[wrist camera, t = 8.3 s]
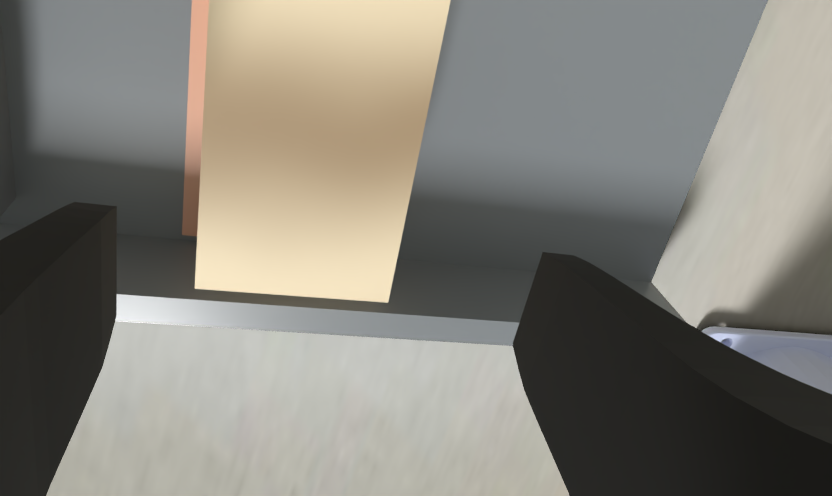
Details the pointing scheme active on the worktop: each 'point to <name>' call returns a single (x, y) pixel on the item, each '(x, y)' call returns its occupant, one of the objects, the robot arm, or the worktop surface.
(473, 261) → the board
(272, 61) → the maple bar
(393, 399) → the worktop surface
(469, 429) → the worktop surface
